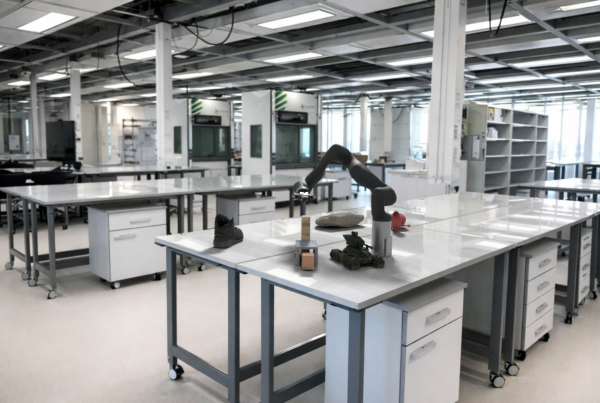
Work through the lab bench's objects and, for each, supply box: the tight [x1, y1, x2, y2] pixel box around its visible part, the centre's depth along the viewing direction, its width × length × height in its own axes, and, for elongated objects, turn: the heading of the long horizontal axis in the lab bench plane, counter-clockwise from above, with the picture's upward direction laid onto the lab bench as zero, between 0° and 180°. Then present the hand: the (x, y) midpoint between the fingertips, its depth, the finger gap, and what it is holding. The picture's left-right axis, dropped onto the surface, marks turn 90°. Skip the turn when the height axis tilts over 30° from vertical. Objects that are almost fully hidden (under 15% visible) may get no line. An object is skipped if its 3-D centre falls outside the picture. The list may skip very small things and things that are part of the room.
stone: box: [314, 212, 365, 228], centre depth 308 cm, size 33×9×20 cm
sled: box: [299, 214, 315, 270], centre depth 215 cm, size 27×5×19 cm, turn 2°
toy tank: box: [329, 230, 386, 271], centre depth 217 cm, size 17×27×14 cm, turn 19°
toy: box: [390, 210, 411, 233], centre depth 301 cm, size 18×17×30 cm
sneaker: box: [212, 213, 245, 249], centre depth 255 cm, size 12×29×17 cm, turn 170°
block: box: [301, 252, 315, 268], centre depth 206 cm, size 5×5×5 cm
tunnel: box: [295, 239, 319, 267], centre depth 218 cm, size 14×9×8 cm
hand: (305, 199), depth 240 cm, fingers closed
